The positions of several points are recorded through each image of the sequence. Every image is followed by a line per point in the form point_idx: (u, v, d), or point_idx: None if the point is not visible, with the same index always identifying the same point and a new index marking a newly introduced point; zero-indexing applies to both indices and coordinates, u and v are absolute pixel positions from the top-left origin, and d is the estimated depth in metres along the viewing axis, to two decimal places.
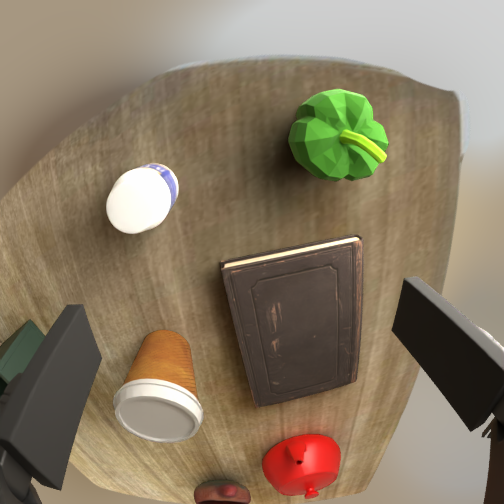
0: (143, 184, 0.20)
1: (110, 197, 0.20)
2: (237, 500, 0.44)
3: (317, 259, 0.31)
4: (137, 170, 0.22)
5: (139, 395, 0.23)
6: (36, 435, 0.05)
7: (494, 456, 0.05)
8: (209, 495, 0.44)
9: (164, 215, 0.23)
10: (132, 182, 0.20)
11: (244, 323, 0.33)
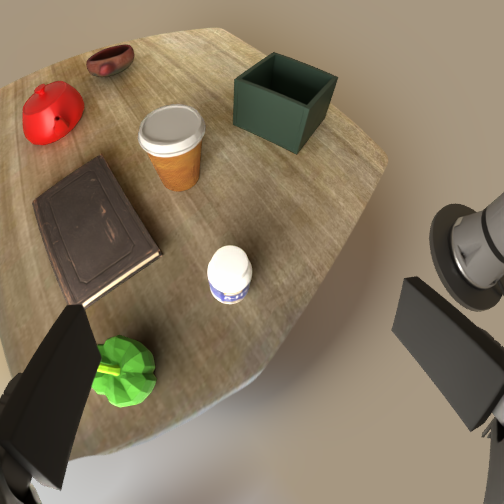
0: (227, 280, 0.32)
1: (246, 263, 0.32)
2: (97, 62, 0.50)
3: (96, 283, 0.36)
4: (239, 288, 0.34)
5: (185, 140, 0.35)
6: (36, 435, 0.05)
7: (494, 456, 0.05)
8: (121, 58, 0.52)
9: (208, 267, 0.34)
10: (235, 278, 0.31)
11: (130, 217, 0.41)
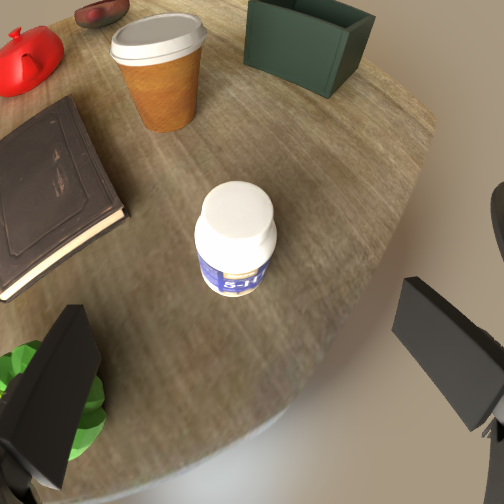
0: (232, 243, 0.16)
1: (269, 212, 0.16)
2: (85, 8, 0.35)
3: (29, 256, 0.21)
4: (253, 265, 0.18)
5: (174, 39, 0.19)
6: (36, 435, 0.05)
7: (494, 456, 0.05)
8: (113, 5, 0.37)
9: (196, 225, 0.18)
10: (247, 239, 0.16)
11: (88, 163, 0.25)
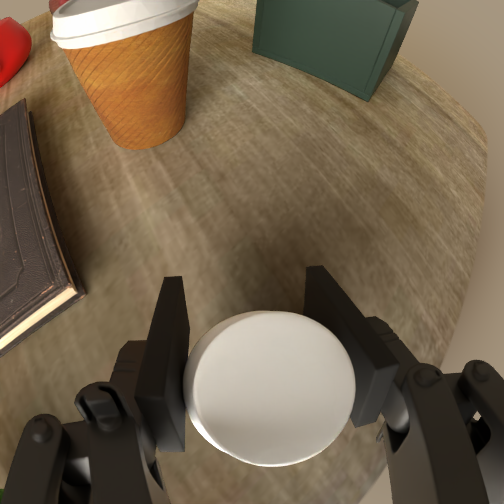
0: None
1: (349, 392, 0.06)
2: None
3: None
4: None
5: None
6: (173, 392, 0.07)
7: (392, 468, 0.06)
8: None
9: (185, 379, 0.08)
10: (301, 460, 0.06)
11: (27, 204, 0.15)
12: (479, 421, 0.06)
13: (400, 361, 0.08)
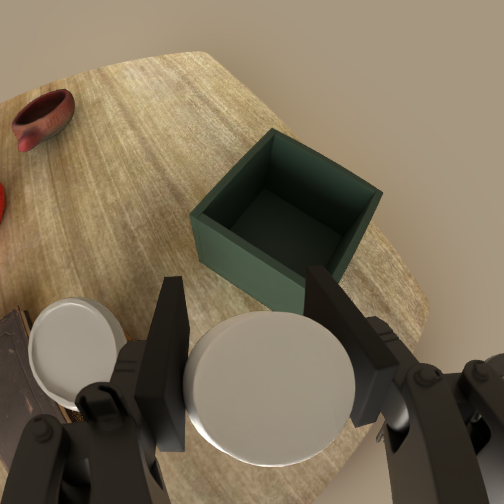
0: None
1: (348, 393, 0.06)
2: (19, 127, 0.33)
3: None
4: None
5: None
6: (173, 392, 0.07)
7: (392, 468, 0.06)
8: (49, 121, 0.35)
9: (185, 379, 0.08)
10: (301, 460, 0.06)
11: None
12: (479, 421, 0.06)
13: (400, 361, 0.08)
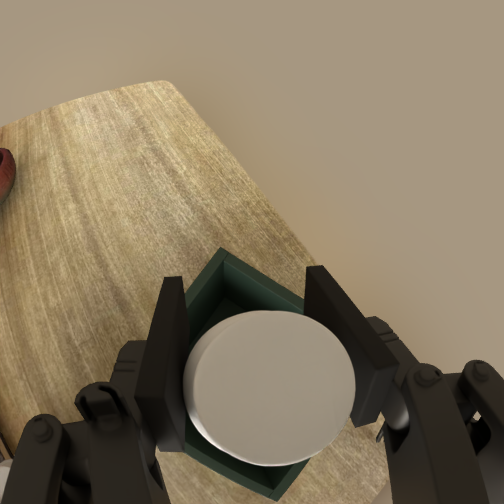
0: None
1: (349, 392, 0.06)
2: None
3: None
4: None
5: None
6: (172, 392, 0.07)
7: (392, 468, 0.06)
8: None
9: (185, 378, 0.08)
10: (301, 459, 0.06)
11: None
12: (479, 421, 0.06)
13: (400, 361, 0.08)
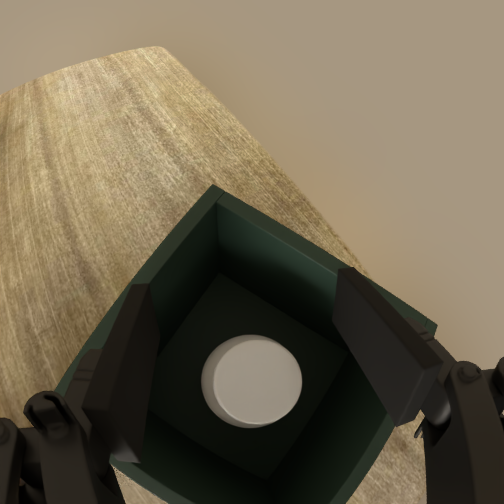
0: (252, 423, 0.11)
1: (297, 384, 0.12)
2: None
3: None
4: (272, 422, 0.13)
5: None
6: (124, 404, 0.07)
7: (429, 461, 0.05)
8: None
9: (203, 376, 0.14)
10: (271, 421, 0.11)
11: None
12: None
13: None
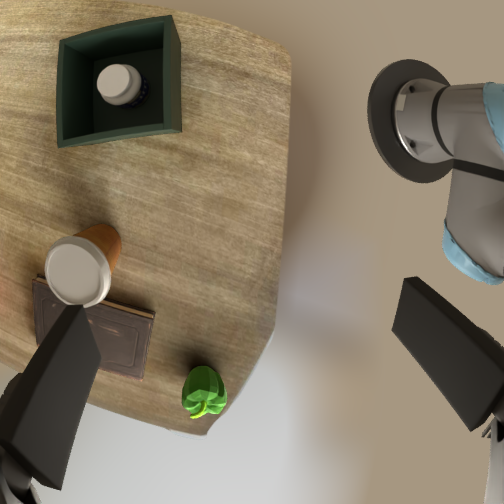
0: (120, 93, 0.26)
1: (125, 71, 0.25)
2: None
3: (139, 361, 0.48)
4: (136, 91, 0.29)
5: (104, 287, 0.32)
6: (36, 435, 0.05)
7: (494, 456, 0.05)
8: None
9: (102, 95, 0.28)
10: (124, 88, 0.26)
11: (112, 313, 0.44)
12: None
13: None
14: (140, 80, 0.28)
